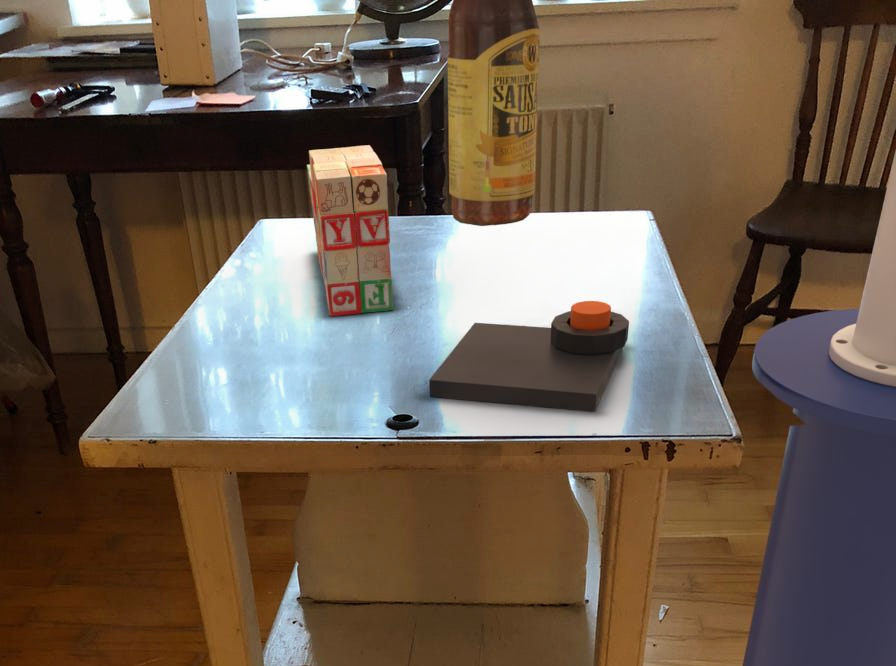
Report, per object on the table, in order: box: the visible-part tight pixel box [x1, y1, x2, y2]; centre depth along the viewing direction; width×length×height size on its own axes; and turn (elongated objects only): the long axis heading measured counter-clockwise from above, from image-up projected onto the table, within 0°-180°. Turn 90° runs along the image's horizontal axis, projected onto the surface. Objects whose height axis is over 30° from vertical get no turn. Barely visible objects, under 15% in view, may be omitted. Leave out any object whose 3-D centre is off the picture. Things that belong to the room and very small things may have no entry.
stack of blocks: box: [306, 144, 394, 317], centre depth 97 cm, size 21×6×12 cm, turn 8°
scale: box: [428, 310, 630, 412], centre depth 79 cm, size 14×14×3 cm
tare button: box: [570, 300, 612, 330], centre depth 79 cm, size 3×3×2 cm
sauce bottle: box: [447, 0, 541, 227], centre depth 67 cm, size 6×6×20 cm
